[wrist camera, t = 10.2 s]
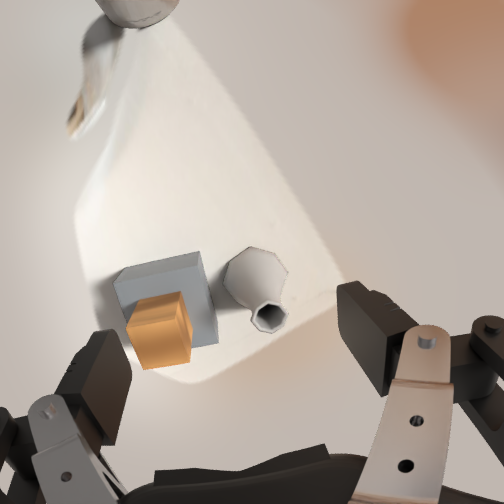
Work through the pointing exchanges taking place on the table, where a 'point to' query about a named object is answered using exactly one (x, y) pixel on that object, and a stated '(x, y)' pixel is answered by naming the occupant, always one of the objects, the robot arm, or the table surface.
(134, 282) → the pedestal
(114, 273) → the table surface
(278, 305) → the flask
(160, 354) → the orange block
